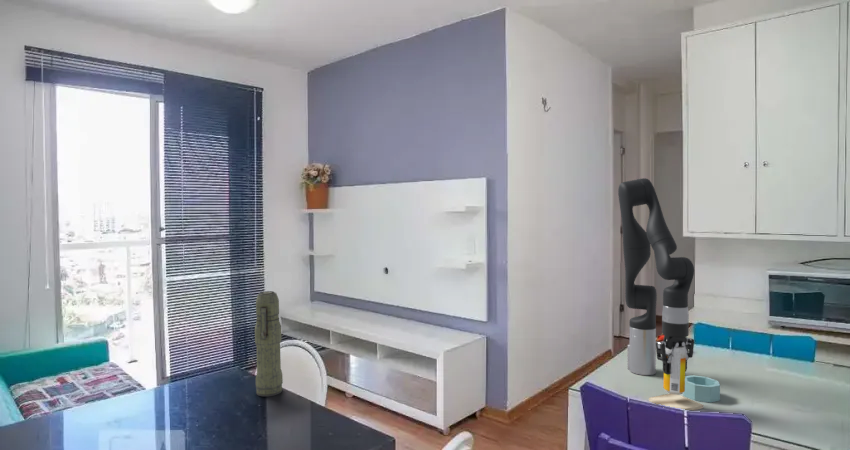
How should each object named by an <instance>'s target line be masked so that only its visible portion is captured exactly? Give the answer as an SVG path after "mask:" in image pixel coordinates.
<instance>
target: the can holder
mask: <svg viewBox="0 0 850 450" xmlns="http://www.w3.org/2000/svg"><path fill="white" fill-rule="evenodd" d="M682 396H683V397H686V398H688V399H690V400H693V401H695V402H702V403H703V402H704V403H715V402H719V401H721V384H720V382H719V381H718V380H717V379H714V378H710V377H708V376H704V375H703V376H701V375H693V374H692V375H691V374H690V375H685V391H684V392H683V394H682Z"/></svg>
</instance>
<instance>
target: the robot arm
mask: <svg viewBox="0 0 850 450" xmlns="http://www.w3.org/2000/svg"><path fill="white" fill-rule="evenodd" d="M617 193H618V203H619V210H620V216H621V225H622V226H621V228H622V246H623V247H622V248H623V249H622V250H623V259H624V270H625V271H624V273H625V275H624V276H625V277H624V278H625V279H624V280H625V282H624V283H625V284H624V290H625V291H624V292H625V293H624V296H625V297H624V298H625V299H624V300H625V303H626V307H627V308H629V309H634V310H643V311H646V312H645V313H643V314H642V315H637V316H634V317H631V318H630V319H629V343H628V344H627V370H629V372H630V373H633V374H635V375H636V374H637V375H641V376H653V375H656V373H657V372H656V371H657V368H656V367H657V366H656V365H657V360H659V361H661V362H662V372H663V374H664V373H665V374H668V375H669V374H671V363H670V362H671V359H672V356H674V353H673V352H674V349H675V348H678V347H685V349H686V363H685V373H686V372H687V370H688V361H689V359H691V358H693V356H694V347H695V339H694V338H690V337H688V336H689V333H690V332H689V330H690V329H689V327H690V326H689V325H690V324H689V323H690V321H689V314H690V313H689V307H688V306H689V291H690V288H691V285H692V283H693V279H694V275H695V267H694V264H693V262H692V260H691V259H690V258H688V257H685V256H683V257H682V256H681V257H680V256H679V257H671V256H670V255H672V254H675V252H676V251H677V250H678V249H677V248H678V245H677V243H676V240H675V239H674V237H673V235H672V233H671V231H670V229H669V227H668V225H667V223H666V220H665V217H664V215H663V211H662V206H661V204H660V201H659V199H658V195H657V192H656V189H655V187H654V185H653V183H652V182H651V180H650V179H648V178H645V177H644V178H638V179H637V178H636V179H632V180H628V181H623V182H621V183H620V184H619V185H618V190H617ZM643 205H646V206H647V208H648V210H649V211H648V212H649V216H648V220H647V223H646V230H645V228H643V227H642V226H641V225H640V223H639V221H638V220H637V219H636V217H635V215H634V210H633V209H634V207H638V206H643ZM651 249H652V250H653V254H654V260H655V268H656V271H657V273H658V275H659V277H660V278H661V279H663V280H666V281H674V282H673V284H672V285H670V286H666V287H665V288H663V292H662V311H661V334H662V333H663V334H664V340H663V341H662V342H658V341H657V342H656V339H657V325H656V324H657V321H656V320H657V300H658V297H657V296H658V295H657V294H658V293H657V289H656V287H655V286H653V285H645V284H635V282H636V279H637V276H638V275H639V273H640V272H641V271H642V270H643V268H644V267H645V265H646V264H647V263H648V261H649V260H650V258H651V252H652V251H651ZM672 347H673V348H672ZM665 348H668V349H672V350H671V352H670V353H669V352H666V351H665ZM666 354H667V355H668V358H666Z"/></svg>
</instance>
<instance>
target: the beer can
mask: <svg viewBox="0 0 850 450" xmlns="http://www.w3.org/2000/svg"><path fill="white" fill-rule="evenodd" d="M672 348H673V347H672ZM671 350H672V349H668V348H665V351H666V352H669V353H670V352H671ZM673 353H674V356H672V359H671V362H670V363H671V374H669V375H668V374H665V373H664V372H663V382H662V383H663V387H662V388H663V389H664V391H665V392H666V393H667V394H675V395H683V392H684V391H685V376H686V372H685V363H686V349H685V347H678V348H675V349H674V352H673ZM666 358H668V355H667V354H666Z"/></svg>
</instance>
